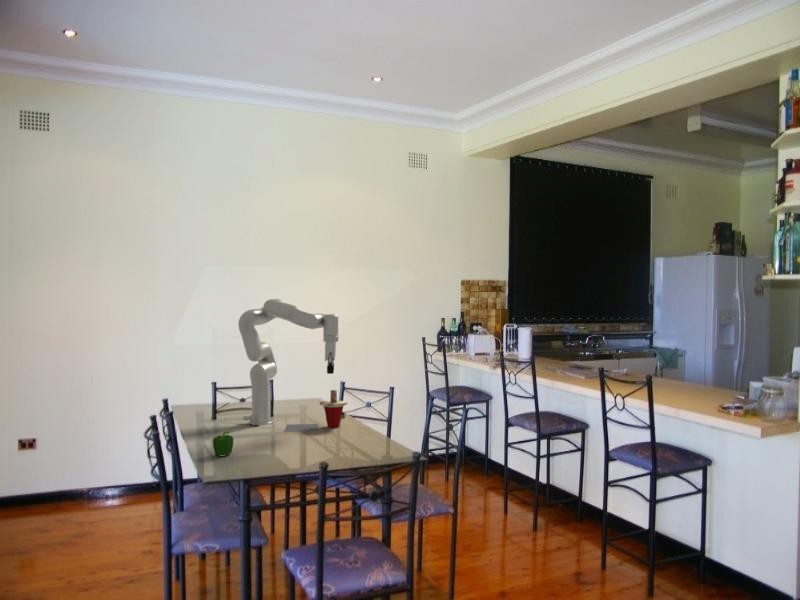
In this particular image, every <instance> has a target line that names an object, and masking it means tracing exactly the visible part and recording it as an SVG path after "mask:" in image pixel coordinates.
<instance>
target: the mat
mask: <svg viewBox="0 0 800 600" xmlns="http://www.w3.org/2000/svg"><path fill="white" fill-rule="evenodd" d="M318 428H319V423H303V424H301V423H299V424H292V423H291V424H286V426H285V429H284V431H283V432H284V433H298V432H299V433H300V432H318Z"/></svg>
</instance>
